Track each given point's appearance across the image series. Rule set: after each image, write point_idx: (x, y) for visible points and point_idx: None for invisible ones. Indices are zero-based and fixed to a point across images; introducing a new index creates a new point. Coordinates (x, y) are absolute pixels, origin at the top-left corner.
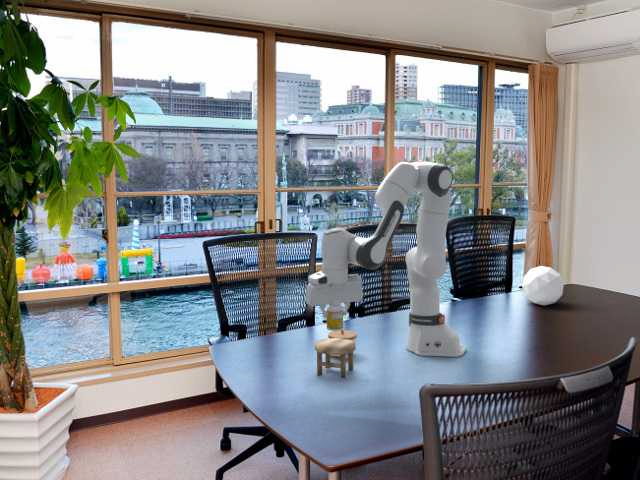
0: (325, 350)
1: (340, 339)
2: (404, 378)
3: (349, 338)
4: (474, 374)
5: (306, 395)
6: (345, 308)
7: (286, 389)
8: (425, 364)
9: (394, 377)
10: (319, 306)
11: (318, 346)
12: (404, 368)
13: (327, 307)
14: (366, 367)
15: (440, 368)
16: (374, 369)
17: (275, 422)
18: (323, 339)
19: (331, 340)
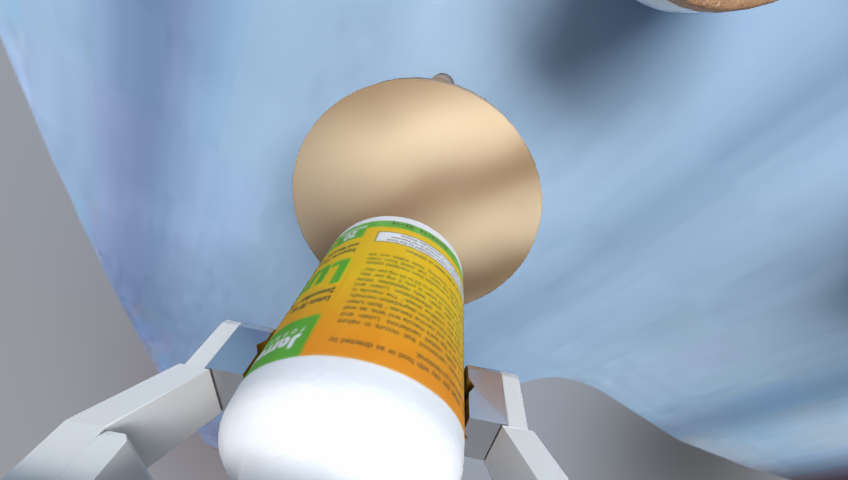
0: (318, 256)
1: (504, 161)
2: (569, 334)
3: (709, 9)
4: (737, 414)
5: (249, 266)
6: (501, 474)
7: (201, 196)
8: (754, 299)
9: (554, 314)
10: (53, 439)
11: (306, 193)
12: (659, 283)
13: (219, 445)
14: (568, 194)
15: (737, 346)
16: (572, 229)
17: (146, 331)
18: (407, 81)
19: (440, 140)
